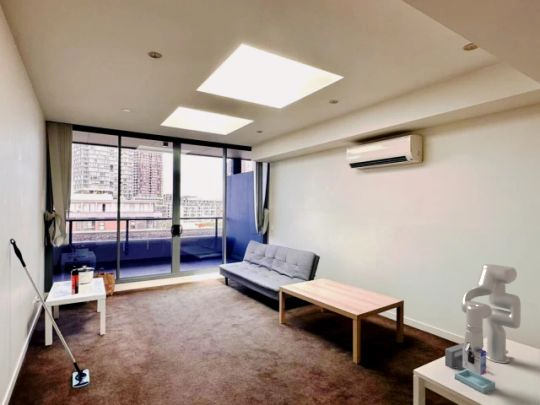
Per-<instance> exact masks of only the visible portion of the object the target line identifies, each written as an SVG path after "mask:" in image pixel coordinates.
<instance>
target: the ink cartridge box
mask: <svg viewBox="0 0 540 405" xmlns="http://www.w3.org/2000/svg"><path fill="white" fill-rule="evenodd" d="M465 349H466V348H465V347H464V346H463V367H464V368H466V369H468V370H470V371H472V372H474V373H476V374H478V375H481V376H483V375H485V374H487V358H486V352H487V350H484V349H483V348H482V349H479V350H476V351H474V364H472V363H470V362H468V355H467V353H466V351H465ZM470 350H472V349H471V348H470ZM470 352H471V353H472V351H470Z"/></svg>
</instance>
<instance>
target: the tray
mask: <svg viewBox="0 0 540 405" xmlns="http://www.w3.org/2000/svg"><path fill="white" fill-rule="evenodd" d="M454 379H455V380H457V381H458V382H460V383H462V384H464V385H465V386H467V387H470V388H471V389H473V390H475V391H477V392H479V393H480V394H483V393H484V394H486V393H488V392H490V391H492V390H494V389H496V381H493V380H491V379H489V378H487V377H485V376H483V375H478V374H476V373H474V372H472V371H470V370H468V369H465V370H460V371H458V372H455V373H454Z"/></svg>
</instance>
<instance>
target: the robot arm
mask: <svg viewBox="0 0 540 405" xmlns="http://www.w3.org/2000/svg"><path fill="white" fill-rule="evenodd" d="M517 276H518V272H517V270H516V269H515V267H512V266H504V265H498V264H490V263H488V264H483V265H482V268H481V270H480V274H479V277H478V280H477V284H476V286H474V287H472V288H470V289H469V290H467V291H466V292H465V293H464V295H463V299H462V301H461V305H460V307H461V308H460V309H461V311H462V312H463V313H464V314H466V316H465V318H466V320H465V321H466V322H465V323H466V324H465V325H466V327H465V333H464V334H465V335H464V342H463V343H464V347H465V348H466V349H465V351H466V353H467V355H468V362H470V363H472V364H474V351H476V350H479V349H482V350H483V348H484V335H483V334H484V333H483V332H484V330H483V329H484V327H483V325H484V324H483V323H484V319H486V330H487V331H486V332H487V335H486V336H487V337H486V345H487V348H486V349H487V350H486V360H487V359H488V360H489V361H491V362H494V363H498V364H508V363H510V358H509V357H508V356H507V354H509V350H507V332H506V330H505V328H504V327H507V328H510V329H515V330H516V329H519V328H520V326H521V320H522V319H521V318H522V316H521V314H522V313H521V311H522V310H521V308H522V307H521V306H522V305H521V304H522V303H521V299H520V297H519V296H518V295H516V294H513V293H507V292H506V284H507V285H508V284H509V285H510V284H511V283H513V282H514V281H516V279H517ZM484 296H488V303H489V304H487V303H481V302H476V301H473V299H475V298H478V297H484ZM490 305H491V306H494V307H491V306H490ZM495 307H496V308H495ZM500 308H501V309H500ZM504 309H505V310H504ZM508 310H509V311H508ZM470 348H471V349H472V350H470ZM470 351H472V353H471V352H470Z"/></svg>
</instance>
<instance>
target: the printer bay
mask: <svg viewBox="0 0 540 405" xmlns="http://www.w3.org/2000/svg"><path fill="white" fill-rule="evenodd" d="M464 343H465V342H463V343H460V344H456V345H454V346H450V347H448V348H445V350H444V353H445V354H444V358H445V361H444V362H445V363H444V365H445V367H448V368H449V369H455V368H456V369H458V370H460V371H462V370H465V369H466V368H464V367H463V346H464Z"/></svg>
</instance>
